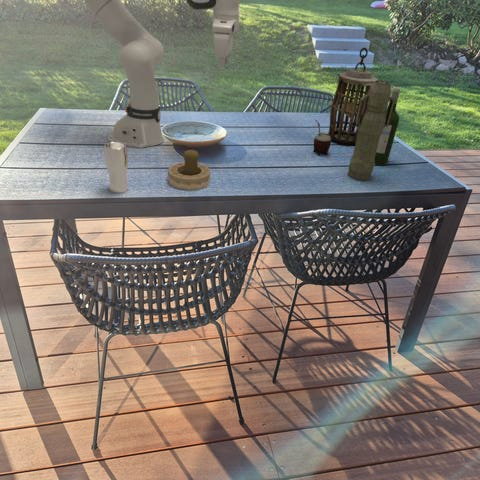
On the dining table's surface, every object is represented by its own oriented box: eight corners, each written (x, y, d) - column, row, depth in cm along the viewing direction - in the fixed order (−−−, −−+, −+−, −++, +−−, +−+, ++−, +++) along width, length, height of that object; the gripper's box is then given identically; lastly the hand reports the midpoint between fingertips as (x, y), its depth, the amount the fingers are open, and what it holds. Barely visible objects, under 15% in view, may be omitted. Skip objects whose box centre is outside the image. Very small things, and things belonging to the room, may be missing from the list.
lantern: (319, 142, 195) (337, 47, 174) (328, 130, 211) (345, 41, 189) (362, 150, 190) (386, 53, 168) (368, 138, 205) (390, 47, 184)
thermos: (340, 171, 168) (360, 78, 149) (368, 171, 170) (391, 79, 151) (348, 181, 161) (371, 84, 142) (377, 181, 163) (403, 86, 144)
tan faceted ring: (164, 187, 145) (164, 176, 143) (174, 170, 157) (173, 160, 155) (205, 191, 144) (206, 181, 142) (212, 175, 156) (212, 164, 154)
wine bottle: (387, 160, 182) (407, 87, 166) (386, 167, 175) (407, 92, 159) (368, 157, 184) (386, 84, 168) (366, 163, 177) (385, 89, 161)
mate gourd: (330, 152, 185) (337, 118, 177) (325, 158, 179) (332, 122, 171) (313, 148, 187) (319, 114, 179) (308, 154, 181) (314, 119, 173)
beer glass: (109, 183, 144) (105, 140, 136) (131, 184, 145) (128, 141, 137) (106, 193, 138) (101, 149, 130) (128, 194, 139) (125, 149, 131)
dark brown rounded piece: (196, 186, 148) (197, 155, 142) (179, 183, 149) (179, 152, 143) (201, 179, 153) (202, 149, 147) (185, 176, 154) (185, 146, 148)
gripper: (220, 20, 155) (218, 60, 162) (211, 26, 137) (209, 71, 145) (238, 21, 154) (235, 62, 162) (231, 28, 137) (228, 73, 145)
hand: (223, 67), depth 153 cm, fingers open, 8 cm apart
